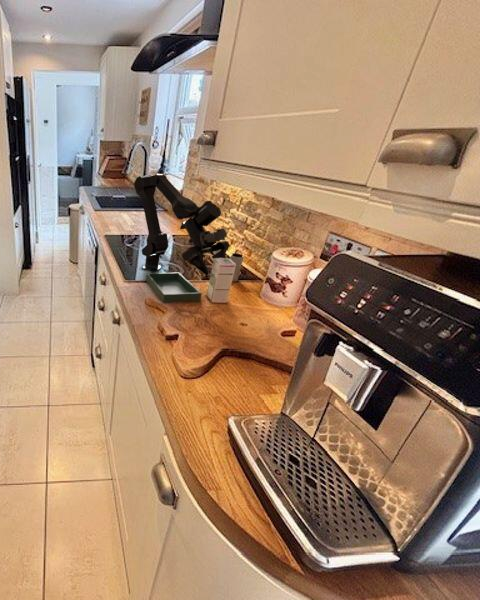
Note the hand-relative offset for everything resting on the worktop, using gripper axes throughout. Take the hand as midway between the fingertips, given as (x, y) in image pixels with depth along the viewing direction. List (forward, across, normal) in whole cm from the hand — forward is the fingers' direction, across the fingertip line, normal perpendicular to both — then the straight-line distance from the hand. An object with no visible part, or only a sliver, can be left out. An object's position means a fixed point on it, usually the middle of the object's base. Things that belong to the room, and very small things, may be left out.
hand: (216, 272), depth 113 cm
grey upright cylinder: (+2, +21, +12) cm, 24 cm away
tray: (-1, -9, +15) cm, 17 cm away
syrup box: (+8, 0, +5) cm, 10 cm away
